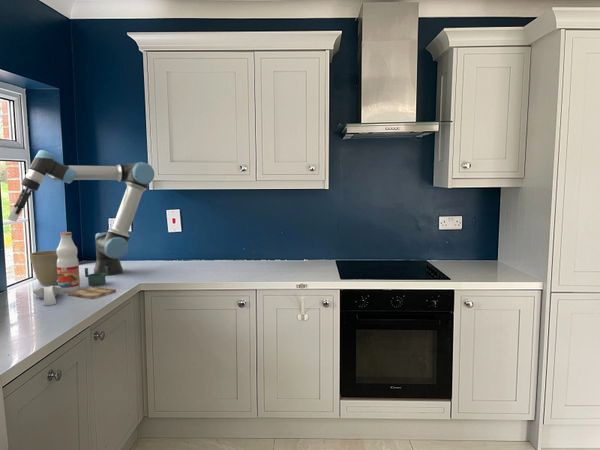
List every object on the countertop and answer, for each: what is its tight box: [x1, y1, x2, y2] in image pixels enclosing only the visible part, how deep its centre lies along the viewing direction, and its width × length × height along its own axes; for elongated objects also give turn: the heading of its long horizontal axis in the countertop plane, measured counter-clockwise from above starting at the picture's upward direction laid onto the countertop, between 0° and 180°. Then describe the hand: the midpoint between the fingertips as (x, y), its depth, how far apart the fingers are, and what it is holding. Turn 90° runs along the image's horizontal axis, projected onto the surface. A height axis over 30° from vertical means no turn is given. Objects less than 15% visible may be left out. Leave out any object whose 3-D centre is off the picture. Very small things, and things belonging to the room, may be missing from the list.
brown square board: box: [67, 286, 117, 300], centre depth 224 cm, size 14×15×1 cm
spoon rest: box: [32, 285, 61, 307], centre depth 215 cm, size 24×12×7 cm, turn 32°
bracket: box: [84, 266, 109, 287], centre depth 242 cm, size 9×9×9 cm
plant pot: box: [29, 250, 58, 286], centre depth 245 cm, size 15×15×16 cm
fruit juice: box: [55, 231, 81, 293], centre depth 230 cm, size 9×9×28 cm
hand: (11, 220), depth 228 cm, fingers open, 13 cm apart
